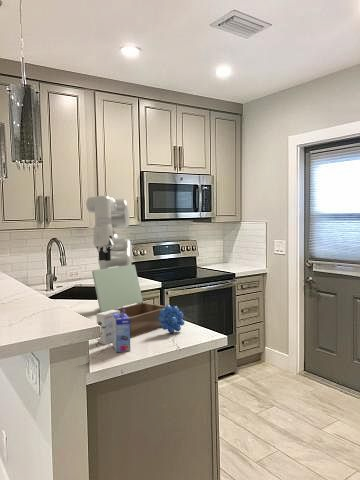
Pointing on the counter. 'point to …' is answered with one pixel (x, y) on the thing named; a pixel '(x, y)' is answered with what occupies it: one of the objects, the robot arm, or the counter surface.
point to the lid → (117, 287)
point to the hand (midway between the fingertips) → (104, 260)
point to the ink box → (106, 326)
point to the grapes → (171, 318)
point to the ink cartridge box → (121, 332)
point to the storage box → (143, 317)
